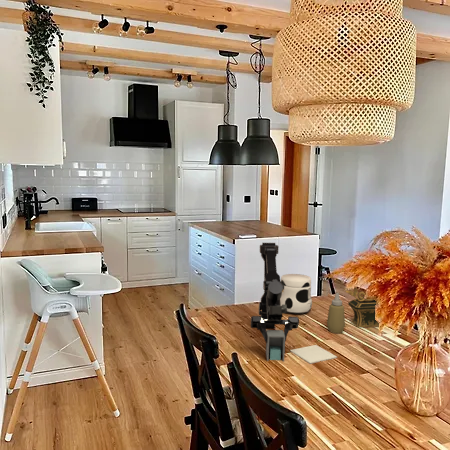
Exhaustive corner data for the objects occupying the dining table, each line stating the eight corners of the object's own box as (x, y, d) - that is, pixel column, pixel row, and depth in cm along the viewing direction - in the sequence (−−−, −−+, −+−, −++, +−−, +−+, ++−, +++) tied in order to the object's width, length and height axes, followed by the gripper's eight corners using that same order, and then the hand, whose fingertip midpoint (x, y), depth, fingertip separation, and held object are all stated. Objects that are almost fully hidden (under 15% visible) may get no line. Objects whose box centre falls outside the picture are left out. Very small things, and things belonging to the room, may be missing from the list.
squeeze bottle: (346, 329, 200) (348, 291, 198) (343, 335, 192) (345, 296, 190) (328, 327, 203) (330, 289, 201) (324, 332, 196) (326, 294, 194)
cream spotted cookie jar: (273, 306, 233) (274, 274, 230) (303, 305, 237) (304, 272, 235) (285, 317, 216) (286, 282, 214) (317, 315, 220) (318, 280, 218)
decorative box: (378, 320, 214) (380, 281, 211) (388, 327, 204) (391, 286, 202) (340, 321, 211) (342, 282, 208) (348, 328, 201) (350, 287, 199)
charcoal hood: (282, 354, 172) (283, 330, 171) (284, 361, 165) (285, 336, 164) (265, 354, 172) (266, 329, 171) (267, 361, 165) (267, 335, 164)
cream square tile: (316, 345, 181) (316, 344, 181) (337, 357, 169) (337, 356, 169) (290, 351, 175) (290, 350, 175) (310, 363, 164) (310, 362, 164)
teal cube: (279, 355, 171) (279, 346, 170) (280, 360, 167) (280, 350, 166) (269, 355, 171) (269, 345, 170) (270, 360, 167) (270, 350, 166)
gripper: (251, 296, 170) (252, 333, 160) (299, 296, 170) (303, 334, 160) (250, 309, 179) (251, 345, 169) (295, 310, 178) (298, 346, 169)
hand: (275, 342), depth 166 cm, fingers closed on charcoal hood, 6 cm apart
